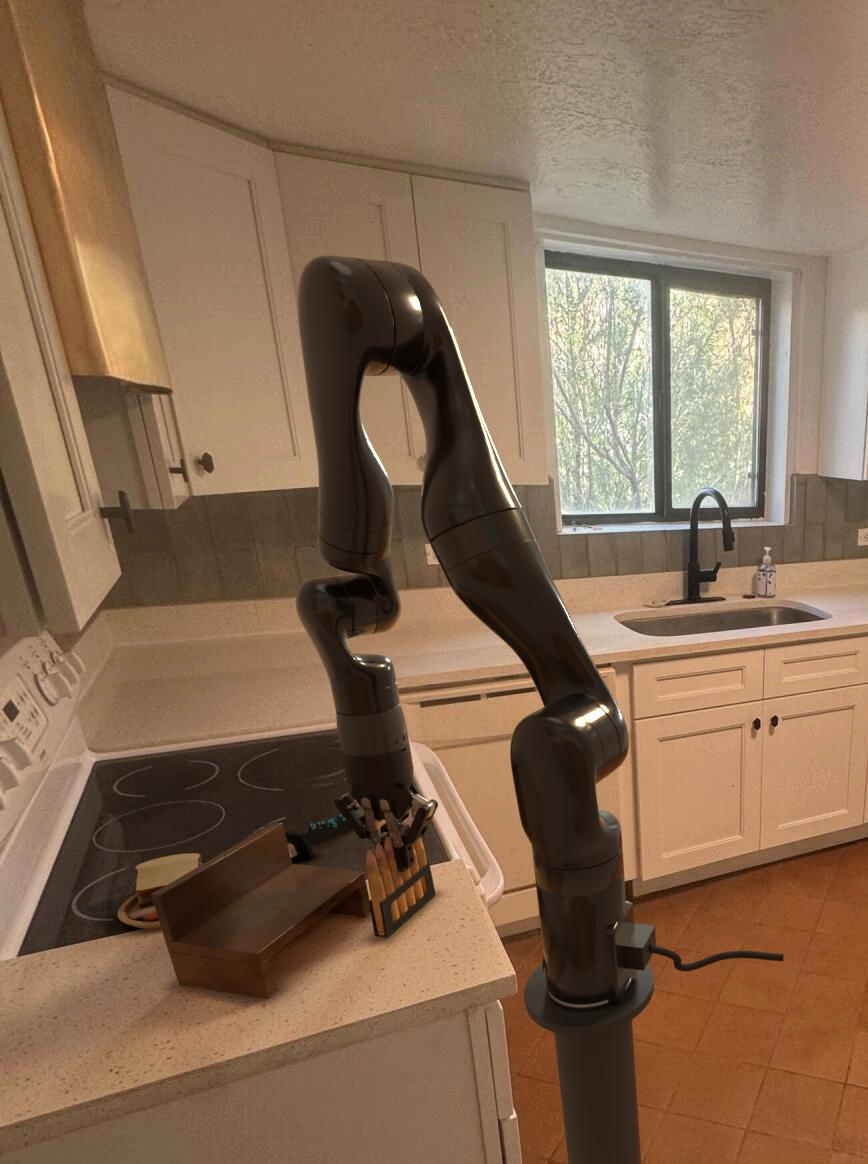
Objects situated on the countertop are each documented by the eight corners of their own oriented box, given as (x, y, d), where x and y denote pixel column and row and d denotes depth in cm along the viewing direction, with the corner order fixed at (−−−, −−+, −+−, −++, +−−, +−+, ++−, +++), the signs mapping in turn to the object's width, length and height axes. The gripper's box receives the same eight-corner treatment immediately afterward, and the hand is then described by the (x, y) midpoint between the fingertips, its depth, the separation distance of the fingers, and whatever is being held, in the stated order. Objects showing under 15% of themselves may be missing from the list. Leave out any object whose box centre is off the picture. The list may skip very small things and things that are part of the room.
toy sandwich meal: (108, 942, 97) (97, 910, 95) (134, 890, 109) (124, 860, 107) (226, 918, 102) (217, 887, 100) (239, 871, 114) (231, 842, 112)
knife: (236, 893, 106) (232, 862, 104) (219, 889, 106) (215, 858, 105) (399, 819, 134) (398, 795, 132) (385, 817, 135) (383, 792, 133)
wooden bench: (372, 911, 104) (356, 830, 100) (268, 998, 87) (244, 906, 83) (293, 901, 106) (274, 822, 102) (178, 984, 90) (150, 894, 85)
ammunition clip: (387, 938, 98) (370, 854, 94) (374, 937, 98) (357, 852, 94) (436, 894, 108) (423, 815, 103) (424, 892, 108) (410, 814, 104)
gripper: (302, 748, 92) (331, 877, 98) (407, 757, 90) (429, 888, 96) (345, 728, 99) (369, 849, 105) (443, 735, 96) (462, 859, 103)
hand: (398, 867), depth 100 cm, fingers closed on ammunition clip, 1 cm apart
